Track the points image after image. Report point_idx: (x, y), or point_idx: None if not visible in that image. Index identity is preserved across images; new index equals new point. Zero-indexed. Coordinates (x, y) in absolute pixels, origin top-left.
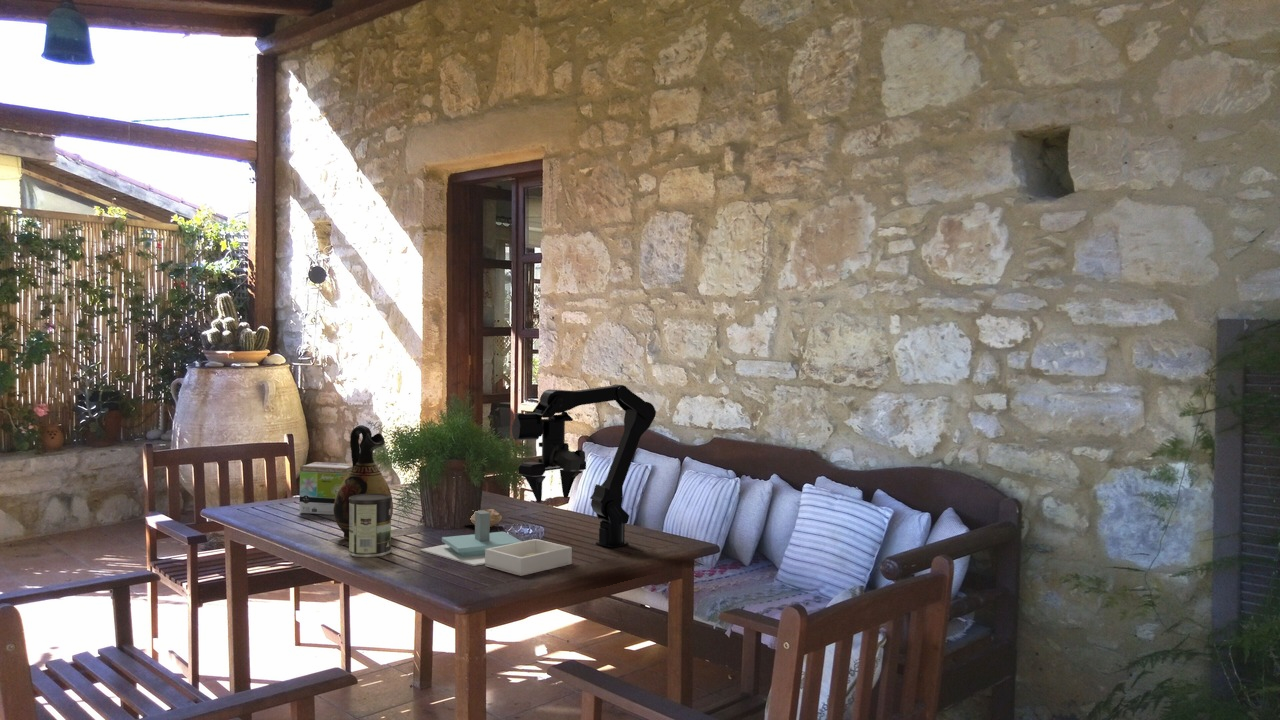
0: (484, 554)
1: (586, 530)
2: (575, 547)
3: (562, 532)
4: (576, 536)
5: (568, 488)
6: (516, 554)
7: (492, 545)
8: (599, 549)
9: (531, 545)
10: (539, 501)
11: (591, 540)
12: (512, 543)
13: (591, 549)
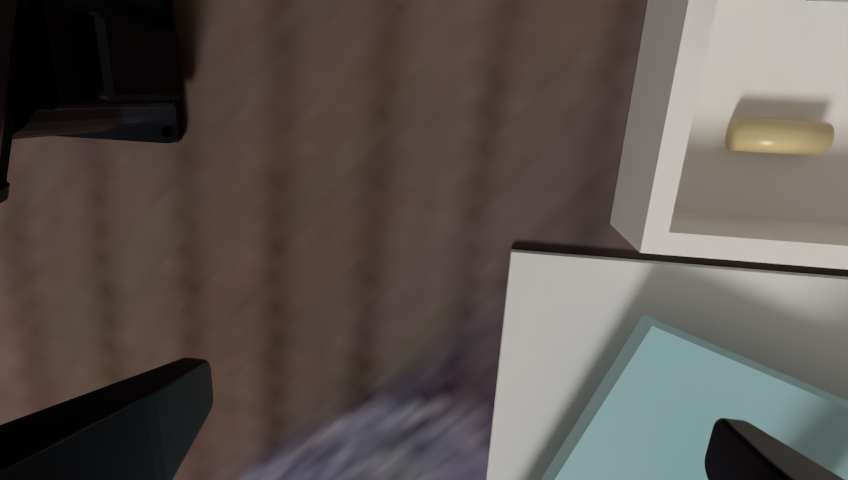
0: None
1: (25, 389)
2: (314, 178)
3: None
4: (143, 344)
5: (85, 426)
6: (811, 225)
7: (844, 406)
8: (245, 31)
9: (693, 226)
10: (750, 430)
11: (137, 227)
12: (719, 353)
13: (281, 70)
